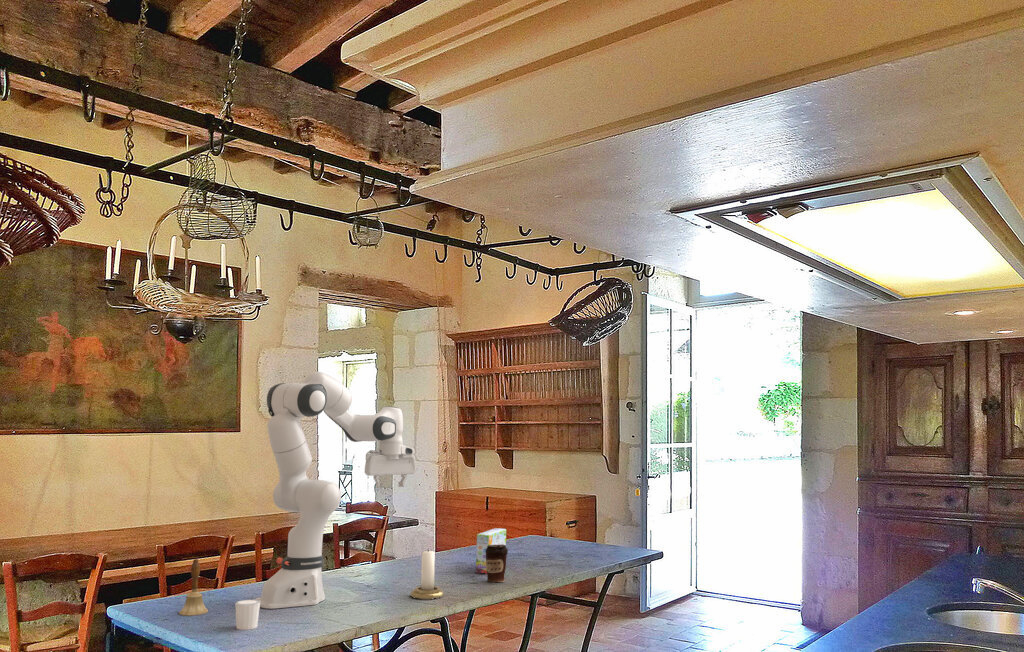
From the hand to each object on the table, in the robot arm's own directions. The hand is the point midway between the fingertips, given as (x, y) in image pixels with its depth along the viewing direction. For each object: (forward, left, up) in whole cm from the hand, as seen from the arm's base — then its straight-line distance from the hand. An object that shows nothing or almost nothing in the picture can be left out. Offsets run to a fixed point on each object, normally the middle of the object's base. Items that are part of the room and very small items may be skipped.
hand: (390, 487), depth 300 cm
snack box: (+45, -3, -34) cm, 57 cm away
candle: (-2, -31, -33) cm, 45 cm away
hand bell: (-72, -9, -34) cm, 80 cm away
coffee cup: (+32, -24, -34) cm, 53 cm away
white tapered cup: (-65, -36, -34) cm, 82 cm away
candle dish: (-2, -31, -34) cm, 46 cm away
